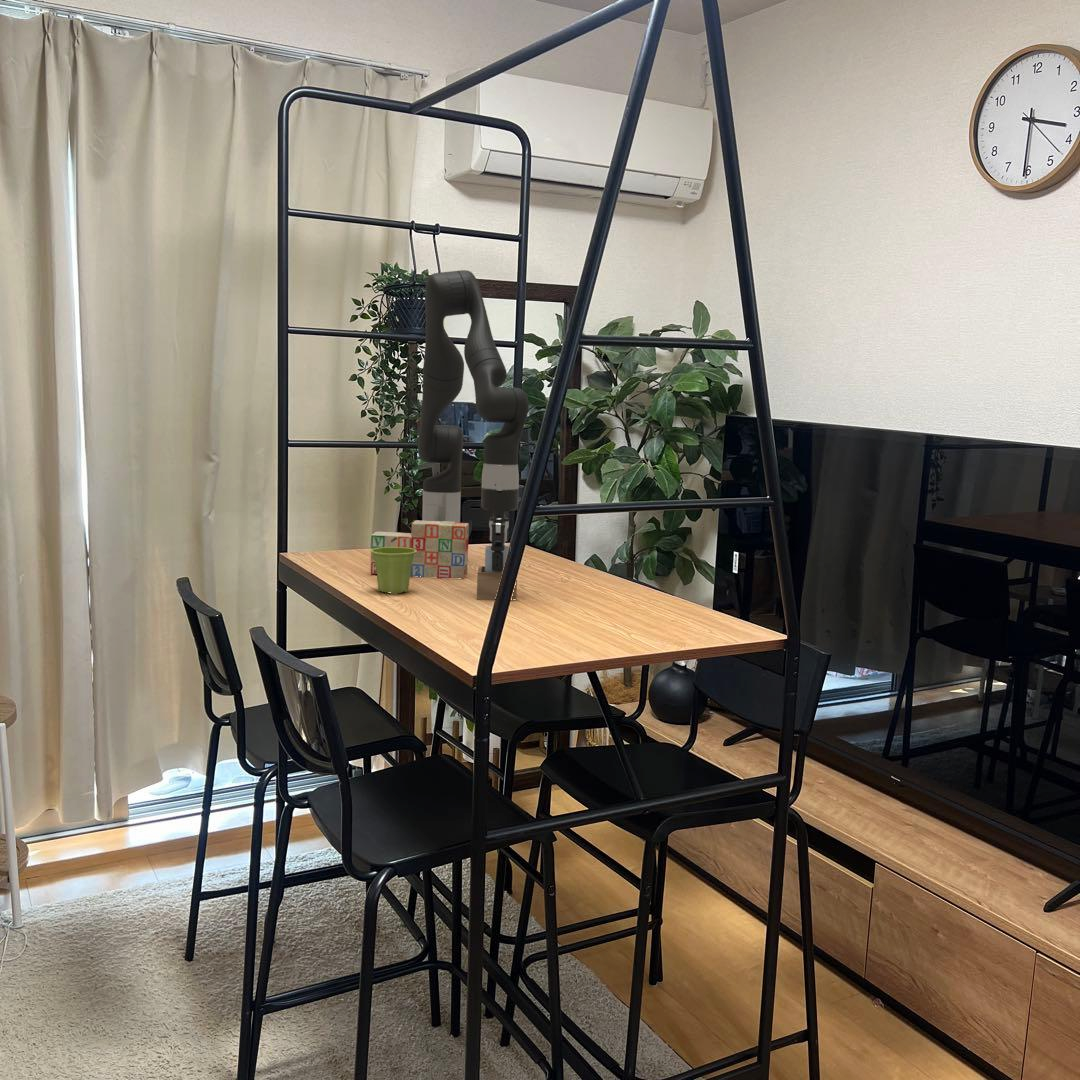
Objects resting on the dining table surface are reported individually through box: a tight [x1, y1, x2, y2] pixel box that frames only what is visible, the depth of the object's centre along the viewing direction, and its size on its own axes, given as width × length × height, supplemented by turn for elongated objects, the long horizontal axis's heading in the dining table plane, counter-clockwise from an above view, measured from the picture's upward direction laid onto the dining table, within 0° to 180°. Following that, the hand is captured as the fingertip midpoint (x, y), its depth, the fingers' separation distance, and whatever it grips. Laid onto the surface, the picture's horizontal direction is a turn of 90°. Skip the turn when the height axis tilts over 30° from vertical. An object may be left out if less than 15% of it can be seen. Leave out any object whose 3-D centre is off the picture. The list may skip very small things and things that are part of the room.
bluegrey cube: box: [484, 545, 509, 573], centre depth 215 cm, size 5×5×5 cm
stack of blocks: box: [370, 519, 470, 580], centre depth 237 cm, size 21×6×12 cm, turn 87°
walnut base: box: [476, 565, 518, 601], centre depth 216 cm, size 8×8×6 cm
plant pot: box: [370, 547, 417, 594], centre depth 217 cm, size 9×9×9 cm
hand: (497, 568), depth 216 cm, fingers closed on bluegrey cube, 5 cm apart
